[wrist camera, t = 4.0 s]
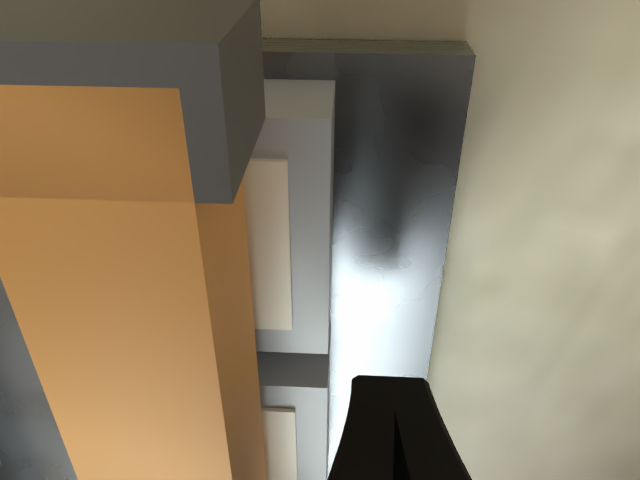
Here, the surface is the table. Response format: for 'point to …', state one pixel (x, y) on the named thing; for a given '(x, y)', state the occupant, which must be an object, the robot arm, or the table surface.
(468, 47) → the tray
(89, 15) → the swing bar
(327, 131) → the module
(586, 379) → the table surface
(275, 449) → the block
